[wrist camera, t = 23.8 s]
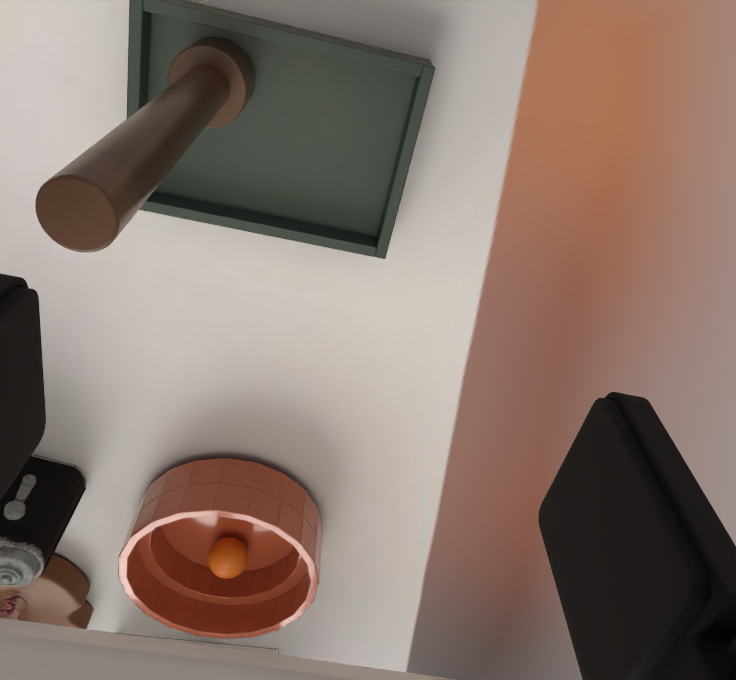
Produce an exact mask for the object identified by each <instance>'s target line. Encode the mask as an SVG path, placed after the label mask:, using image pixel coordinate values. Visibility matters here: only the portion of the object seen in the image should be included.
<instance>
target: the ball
mask: <svg viewBox="0 0 736 680" xmlns="http://www.w3.org/2000/svg"><path fill="white" fill-rule="evenodd" d="M247 562H248V551H247V548H246V546H245V545H244V543H243V542H242V541H240V540H239V539H237V538H233V537H226V538H222V539H220V540H218V541H217V542H216V543H215V544H214V545H213V546H212V547H211V549H210V551H209V555H208V564H209V567H210V569H211V571H212V572H213V573H214V574H215V575H216V576H218V577H220V578H225V579H229V578H233V577H236V576H237V575H239V574H240V573H241V572H242V571H243V570H244V569H245V567H246V565H247Z"/></svg>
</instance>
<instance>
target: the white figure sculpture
mask: <svg viewBox="0 0 736 680" xmlns="http://www.w3.org/2000/svg"><path fill="white" fill-rule="evenodd" d="M134 636H135V635H134ZM142 637H145V636H142ZM149 638H155V637H149ZM157 639H164V640H172V641H180V642H187V643H195V644H202V645H210V646H217V647H224V648H232V649H239V650H246V651H254V652H261V653H268V654H276V655H278V650H275V649H265V648H255V647H245V646H235V645H225V644H215V643H205V642H195V641H185V640H175V639H165V638H157Z"/></svg>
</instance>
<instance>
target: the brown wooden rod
mask: <svg viewBox="0 0 736 680" xmlns="http://www.w3.org/2000/svg"><path fill="white" fill-rule="evenodd" d="M167 85H168V88H167V89H165V90H164V91H163V92H161V93H160V94H159V95H158V96H156V97H155V98H154V99H152V100H151V101H150V102H149V103H147V104H146V105H145V106H143V107H142V108H141V109H139V110H138V111H137V112H136V113H134V114H133V115H132V116H130V117H129V118H128V119H127V120H125V121H124V122H123V123H121V124H120V125H119V126H118V127H116V128H115V129H114V130H112V131H111V132H110V133H108V134H107V135H106V136H105V137H103V138H102V139H101V140H99V141H98V142H97V143H96V144H94V145H93V146H92V147H90V148H89V149H88V150H87V151H85V152H84V153H83V154H81V155H80V156H79V157H77V158H76V159H75V160H74V161H72V162H71V163H70V164H68V165H67V166H66V167H65V168H63V169H62V170H61V171H59V172H58V173H57V174H56V175H54V176H53V177H52V178H50V179H49V180H48V181H47V182H45V183H44V184H43V185H42V187H41V188H40V190H39V191H38V194H37V197H36V214H37V217H38V220H39V222H40V224H41V226H42V228H43V229H44V231H45V232H46V233H47V234H48V235H49V236H50V237H51V238H52V239H53V240H54V241H55V242H57V243H58V244H60V245H61V246H63V247H65V248H68V249H70V250H74V251H78V252H95V251H99V250H101V249H104V248H106V247H107V246H109V245H110V244H111V243H112V242H113V241H114V240H115V238H116V237H117V236H118V235H119V233H120V232H121V231H122V230H123V229H124V227H125V226H126V225H127V224H128V222H129V221H130V220H131V219H132V217H133V216H134V215H135V214H136V212H137V211H138V210H139V209H140V208H141V206H142V205H143V204H144V203H145V201H146V200H147V199H148V198H149V196H150V195H151V194H152V193H153V192H154V190H155V189H156V188H157V187H158V185H159V184H160V183H161V182H162V180H163V179H164V178H165V177H166V176H167V174H168V173H169V172H170V171H171V169H172V168H173V167H174V166H175V164H176V163H177V162H178V161H179V159H180V158H181V157H182V156H183V155H184V153H185V152H186V151H187V150H188V148H189V147H190V146H191V145H192V143H193V142H194V141H195V140H196V139H197V137H198V136H199V135H200V134H201V132H202V131H203V130H204V129H205V127H206V128H219V127H223V126H225V125H228V124H230V123H231V122H233V121H234V120H235V119H236V118H237V117H238V116H239V115H240V113H241V112H242V110H243V109H244V107H245V106H246V104H247V103H248V101H249V100H250V98H251V96H252V94H253V91H254V87H255V74H254V69H253V66H252V63H251V61H250V59H249V57H248V56H247V55H246V53H245V52H244V51H243V50H242V49H241V48H240V47H239V46H238V45H237V44H235V43H234V42H232V41H230V40H228V39H225V38H220V37H208V38H204V39H201V40H199V41H197V42H196V43H194V44H193V45H191V46H189V47H188V48H186V49H185V50H183V51H182V52H180V53H179V54H178V55H177V56H176V57H175V58H174V60H173V62H172V63H171V66H170V68H169V71H168V77H167Z"/></svg>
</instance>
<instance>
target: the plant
mask: <svg viewBox="0 0 736 680" xmlns="http://www.w3.org/2000/svg"><path fill="white" fill-rule="evenodd" d="M89 588H90V585H89V583H88V581H87V580H86V578H85V577H84V575H83V574H82V573H81V572H80V571H79V570H78V569H77V568H76V567H75V566H74V565H73V564H72V563H70V562H69V561H67V560H66V559H64V558H62V557H60V556H57V555H55V554H53V555H52V557H51V559H50V561H49V563H48V565H47V567H46V569H45V571H44V572H43V573H42V574H40V576H38V577H37V578H35V579H34V580H33V581H32V582H31V583H30V584H28V585H25V586H22V587H9V586H5V585H1V584H0V618H5V619H13V620H20V621H28V622H35V623H43V624H51V625H58V626H66V627H73V628H81V629H86V628H87V626H88V623H89V620H90V618H91V615H92V611H93V610H92V608H91V606H90V605H89V604H88V603H87V602H86V601H85V599H86V596H87V594H88V591H89Z"/></svg>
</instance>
